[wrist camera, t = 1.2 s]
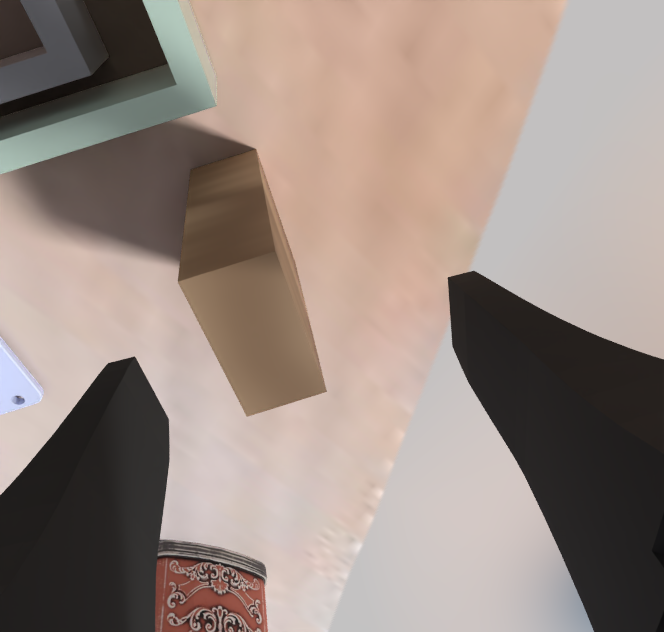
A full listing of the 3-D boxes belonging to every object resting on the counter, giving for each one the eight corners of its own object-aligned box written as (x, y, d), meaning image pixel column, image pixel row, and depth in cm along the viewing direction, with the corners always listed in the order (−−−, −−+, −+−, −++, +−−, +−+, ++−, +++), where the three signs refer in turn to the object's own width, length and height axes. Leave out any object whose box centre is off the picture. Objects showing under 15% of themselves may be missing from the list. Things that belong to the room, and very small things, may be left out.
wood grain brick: (238, 280, 23) (247, 416, 16) (190, 169, 20) (177, 281, 13) (295, 262, 23) (326, 391, 16) (256, 149, 20) (275, 251, 13)
